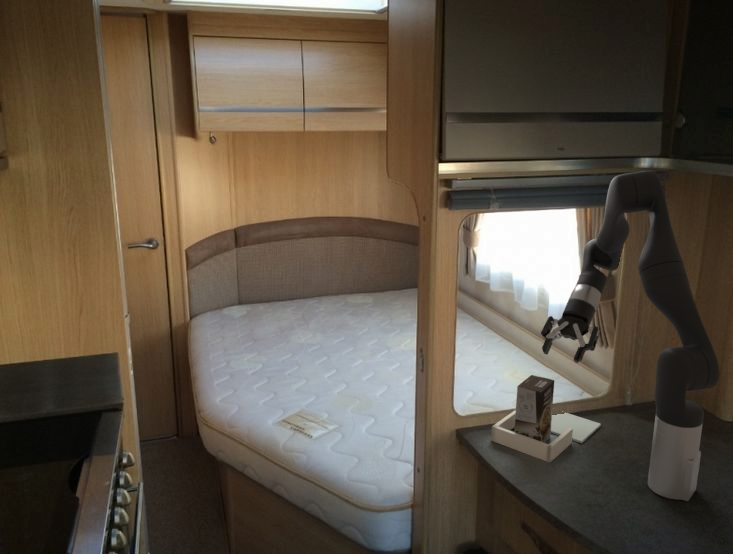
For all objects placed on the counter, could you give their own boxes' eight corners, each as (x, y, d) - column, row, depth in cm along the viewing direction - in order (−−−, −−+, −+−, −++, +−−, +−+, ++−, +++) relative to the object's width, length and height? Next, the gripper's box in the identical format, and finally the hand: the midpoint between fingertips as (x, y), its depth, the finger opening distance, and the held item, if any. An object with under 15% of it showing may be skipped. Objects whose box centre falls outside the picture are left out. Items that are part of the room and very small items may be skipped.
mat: (600, 425, 173) (601, 423, 172) (581, 443, 164) (581, 441, 164) (551, 410, 182) (551, 408, 181) (531, 425, 173) (531, 423, 173)
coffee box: (537, 452, 160) (541, 392, 156) (512, 444, 164) (516, 385, 159) (551, 437, 167) (555, 379, 163) (527, 430, 171) (531, 373, 166)
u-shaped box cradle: (571, 443, 164) (572, 428, 163) (549, 462, 155) (551, 447, 154) (514, 423, 174) (515, 409, 173) (491, 440, 166) (492, 426, 165)
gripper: (553, 292, 177) (531, 344, 172) (605, 303, 168) (583, 357, 163) (560, 306, 182) (539, 356, 177) (611, 317, 173) (589, 370, 168)
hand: (560, 357), depth 170 cm, fingers open, 8 cm apart
